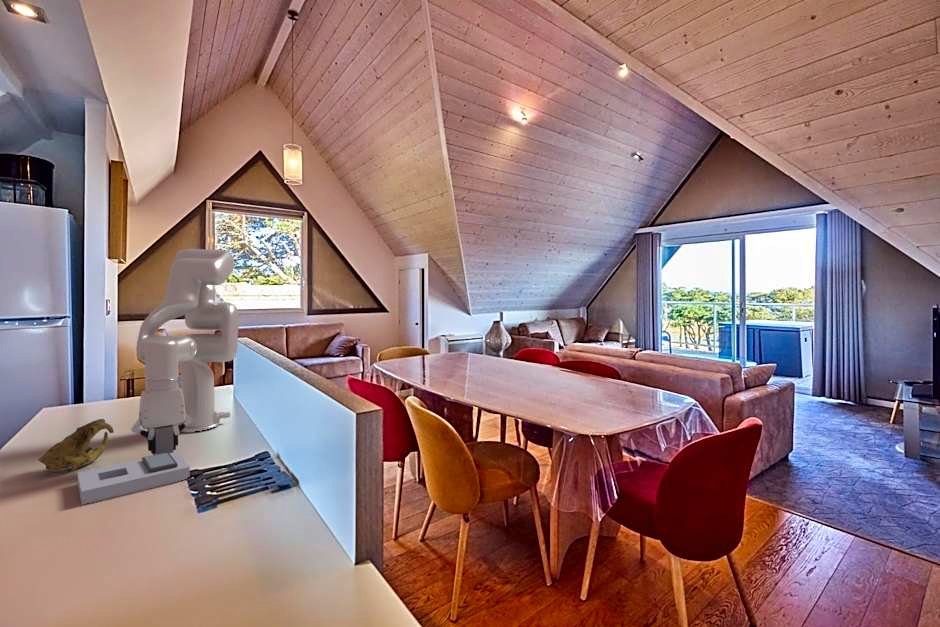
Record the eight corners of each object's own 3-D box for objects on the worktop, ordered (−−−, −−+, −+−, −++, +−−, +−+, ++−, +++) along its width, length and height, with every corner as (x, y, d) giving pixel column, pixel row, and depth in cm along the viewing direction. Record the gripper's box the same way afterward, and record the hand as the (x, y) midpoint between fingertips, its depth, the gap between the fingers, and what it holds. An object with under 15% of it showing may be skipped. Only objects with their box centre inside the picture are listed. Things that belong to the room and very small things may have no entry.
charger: (170, 454, 124) (170, 422, 124) (173, 458, 122) (173, 425, 121) (153, 458, 122) (152, 425, 121) (156, 462, 119) (155, 428, 118)
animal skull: (130, 443, 123) (114, 416, 118) (72, 488, 111) (51, 460, 106) (106, 437, 126) (89, 411, 121) (47, 480, 113) (25, 452, 108)
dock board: (176, 462, 119) (176, 448, 118) (189, 478, 109) (189, 462, 108) (77, 484, 105) (77, 467, 105) (81, 505, 95) (81, 486, 95)
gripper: (194, 379, 129) (194, 440, 130) (121, 386, 117) (123, 454, 118) (200, 383, 124) (201, 447, 125) (125, 391, 112) (127, 462, 113)
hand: (163, 450), depth 121 cm, fingers closed on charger, 4 cm apart
